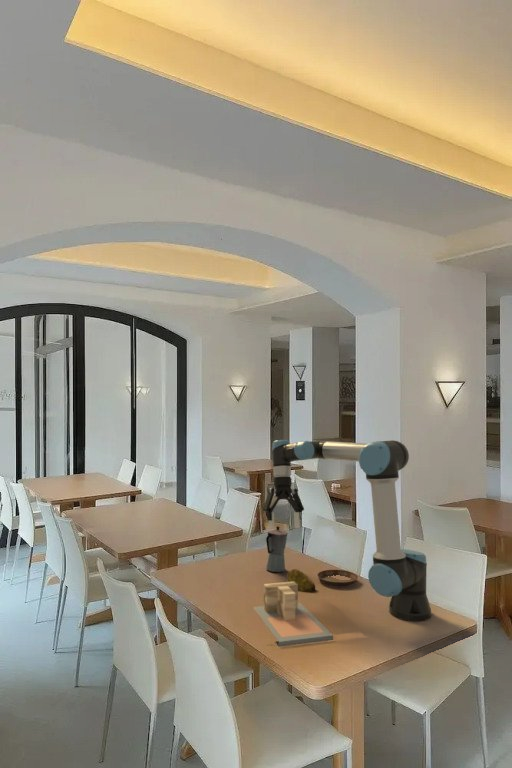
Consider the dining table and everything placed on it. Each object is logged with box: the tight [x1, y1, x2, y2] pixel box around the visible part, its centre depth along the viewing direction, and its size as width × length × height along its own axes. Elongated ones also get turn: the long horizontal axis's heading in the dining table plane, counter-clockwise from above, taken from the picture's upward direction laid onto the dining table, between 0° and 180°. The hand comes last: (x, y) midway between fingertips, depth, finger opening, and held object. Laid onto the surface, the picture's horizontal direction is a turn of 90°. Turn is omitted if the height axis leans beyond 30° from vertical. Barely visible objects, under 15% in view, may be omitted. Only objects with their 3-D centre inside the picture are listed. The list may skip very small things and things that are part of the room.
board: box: [252, 601, 334, 647], centre depth 188 cm, size 30×19×2 cm, turn 17°
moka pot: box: [265, 526, 289, 573], centre depth 249 cm, size 10×15×20 cm, turn 148°
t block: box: [263, 581, 299, 620], centre depth 195 cm, size 12×12×9 cm
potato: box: [286, 568, 316, 593], centre depth 222 cm, size 8×13×8 cm, turn 29°
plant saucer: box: [316, 569, 359, 588], centre depth 234 cm, size 18×18×3 cm
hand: (284, 528), depth 221 cm, fingers open, 13 cm apart
